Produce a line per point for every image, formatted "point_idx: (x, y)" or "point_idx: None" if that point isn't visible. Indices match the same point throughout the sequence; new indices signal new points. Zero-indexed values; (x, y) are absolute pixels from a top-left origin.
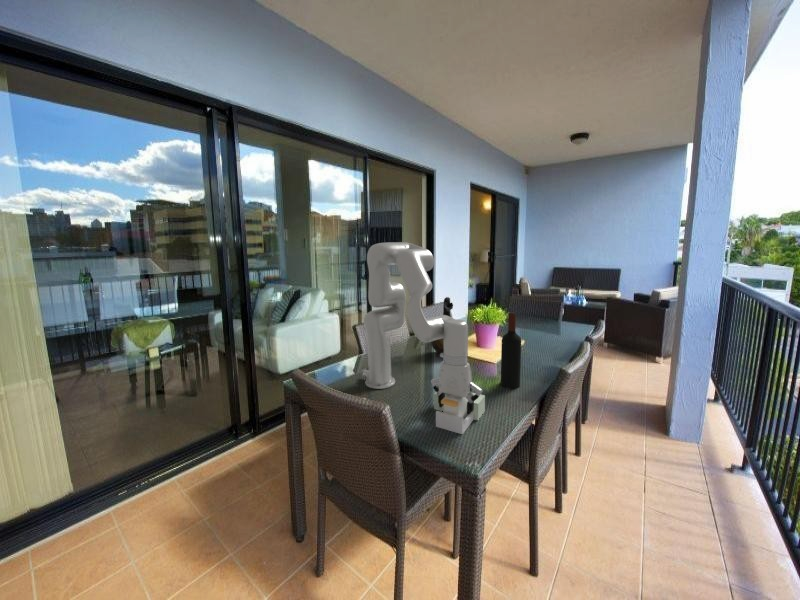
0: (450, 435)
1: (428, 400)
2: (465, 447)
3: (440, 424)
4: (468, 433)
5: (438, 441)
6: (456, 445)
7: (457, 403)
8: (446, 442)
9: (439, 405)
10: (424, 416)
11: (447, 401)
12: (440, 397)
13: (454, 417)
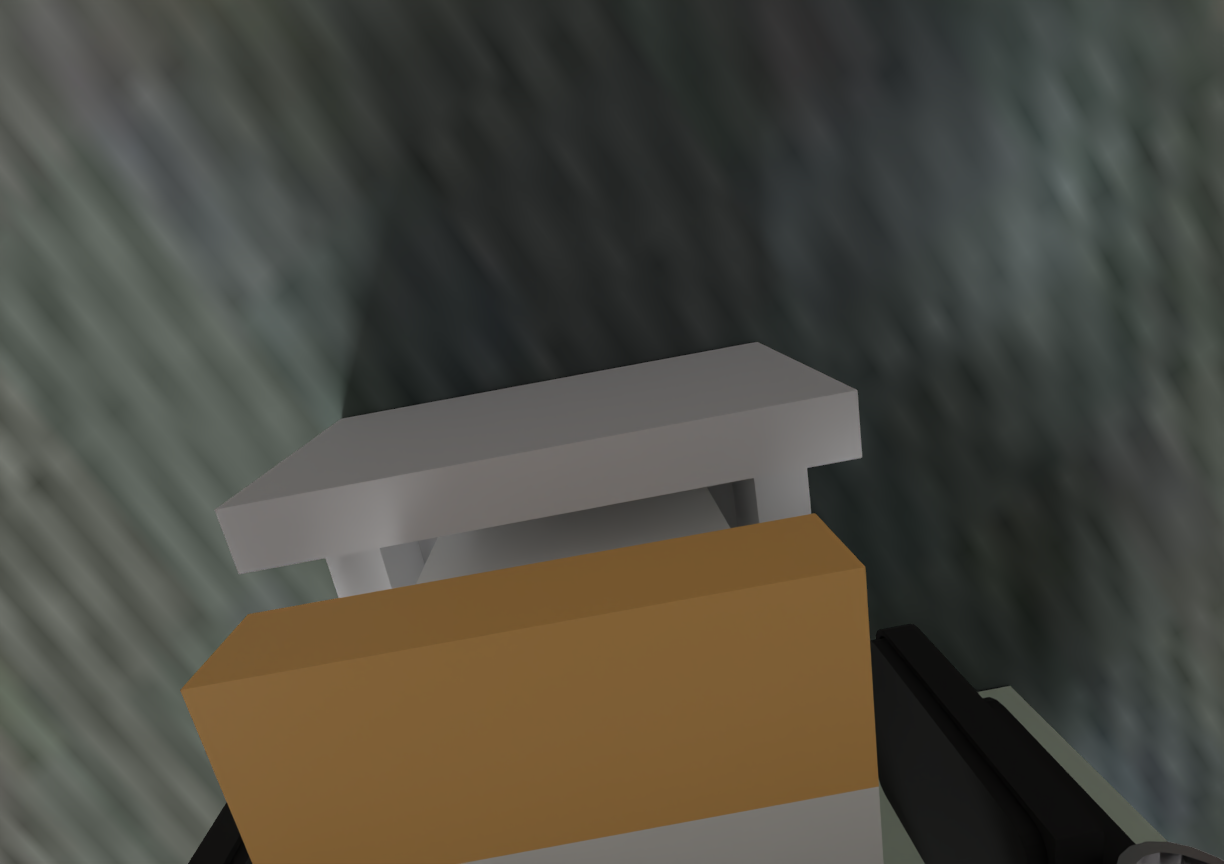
0: (452, 285)
1: (1180, 806)
2: (79, 154)
3: (691, 364)
4: None
5: (488, 11)
6: (211, 108)
7: (255, 796)
8: (377, 75)
9: (921, 642)
10: (1039, 462)
11: (598, 664)
12: (1030, 809)
13: (401, 472)
